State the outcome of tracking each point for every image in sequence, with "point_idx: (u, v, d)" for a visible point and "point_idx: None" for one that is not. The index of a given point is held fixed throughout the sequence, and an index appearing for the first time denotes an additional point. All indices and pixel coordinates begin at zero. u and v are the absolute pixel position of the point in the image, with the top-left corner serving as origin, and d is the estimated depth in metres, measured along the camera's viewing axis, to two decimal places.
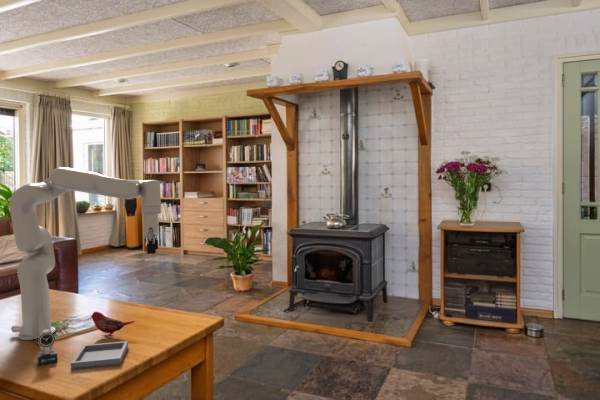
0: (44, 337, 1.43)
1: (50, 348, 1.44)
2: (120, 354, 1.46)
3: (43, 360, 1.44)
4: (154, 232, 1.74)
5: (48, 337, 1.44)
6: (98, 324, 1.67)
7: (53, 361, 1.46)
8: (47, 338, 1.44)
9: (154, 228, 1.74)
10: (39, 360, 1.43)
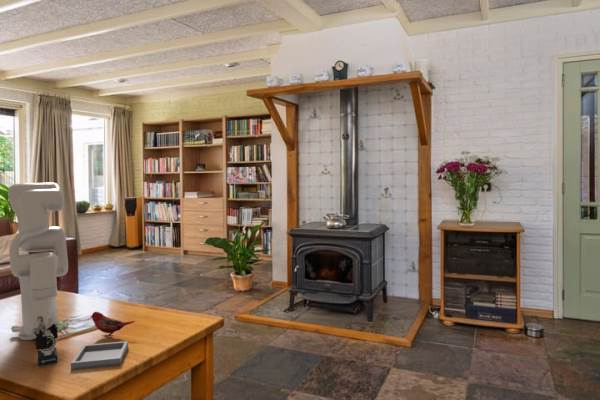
0: None
1: (50, 351, 1.42)
2: (120, 354, 1.46)
3: (43, 360, 1.44)
4: (45, 322, 1.40)
5: (48, 340, 1.42)
6: (98, 324, 1.67)
7: (53, 361, 1.45)
8: (48, 341, 1.42)
9: (45, 317, 1.40)
10: (39, 361, 1.43)
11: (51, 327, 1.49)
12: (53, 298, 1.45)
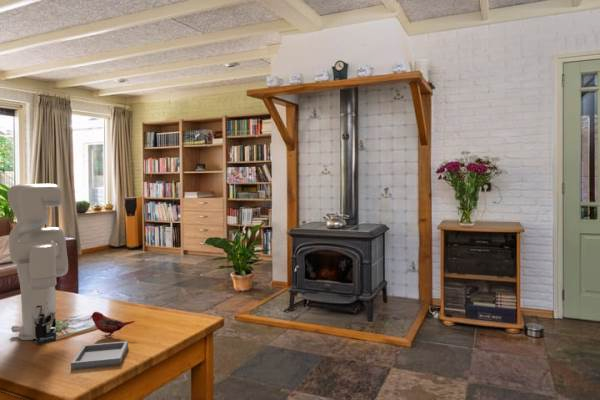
0: None
1: (49, 327, 1.44)
2: (120, 354, 1.46)
3: (42, 338, 1.44)
4: (44, 312, 1.41)
5: None
6: (98, 324, 1.67)
7: (52, 340, 1.46)
8: (46, 317, 1.44)
9: (44, 306, 1.41)
10: (38, 338, 1.44)
11: None
12: (52, 287, 1.46)
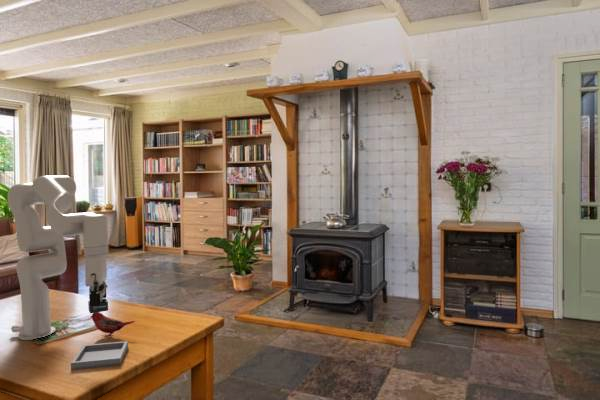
0: None
1: (102, 295, 1.45)
2: (120, 354, 1.46)
3: (95, 307, 1.46)
4: (98, 280, 1.43)
5: None
6: (98, 324, 1.67)
7: (104, 309, 1.47)
8: None
9: (98, 274, 1.43)
10: (91, 307, 1.45)
11: None
12: (104, 256, 1.48)
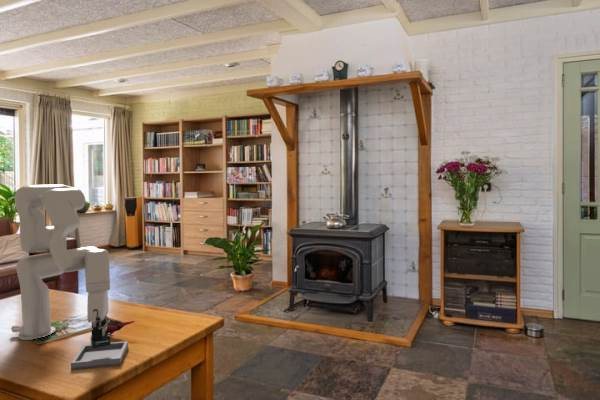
0: None
1: (104, 330, 1.46)
2: (120, 354, 1.46)
3: (97, 342, 1.46)
4: (100, 315, 1.44)
5: None
6: None
7: (106, 343, 1.48)
8: None
9: (100, 310, 1.44)
10: (93, 342, 1.46)
11: None
12: (106, 291, 1.49)
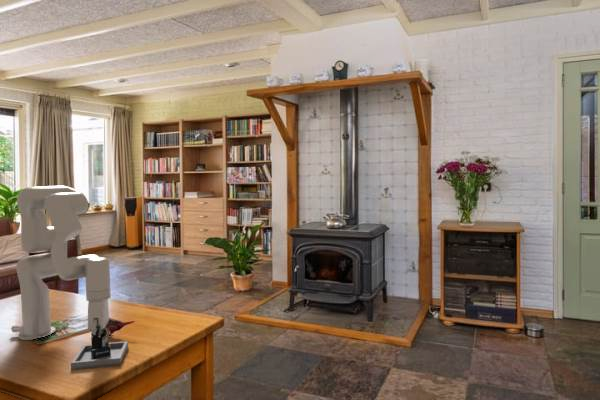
0: (98, 331, 1.46)
1: (104, 341, 1.47)
2: (120, 354, 1.46)
3: (98, 352, 1.47)
4: (100, 323, 1.44)
5: (102, 330, 1.47)
6: None
7: (106, 354, 1.49)
8: None
9: (100, 318, 1.44)
10: (94, 353, 1.47)
11: None
12: (107, 299, 1.49)
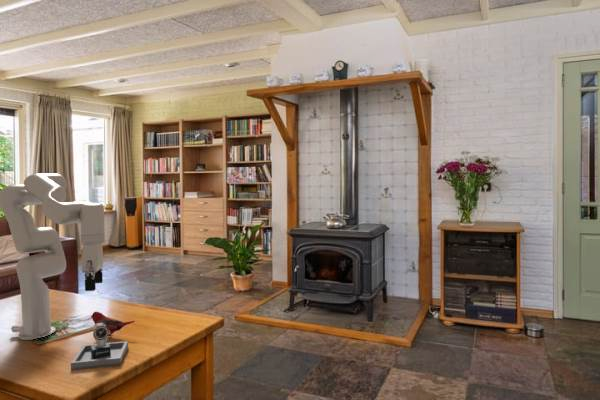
0: (98, 331, 1.47)
1: (104, 341, 1.47)
2: (120, 354, 1.46)
3: (98, 352, 1.47)
4: (94, 266, 1.48)
5: (102, 330, 1.47)
6: None
7: (106, 354, 1.49)
8: (101, 331, 1.47)
9: (94, 261, 1.48)
10: (94, 353, 1.47)
11: (97, 272, 1.57)
12: (101, 244, 1.53)
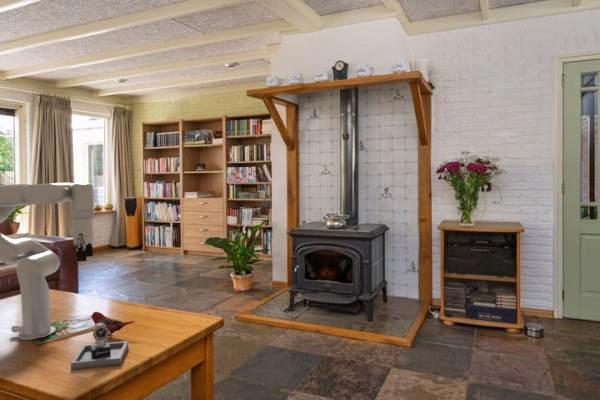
0: (98, 331, 1.47)
1: (104, 341, 1.47)
2: (120, 354, 1.46)
3: (98, 352, 1.47)
4: (84, 238, 1.64)
5: (102, 330, 1.47)
6: None
7: (106, 354, 1.49)
8: (101, 331, 1.47)
9: (84, 234, 1.64)
10: (94, 353, 1.47)
11: (87, 246, 1.74)
12: (90, 220, 1.69)
